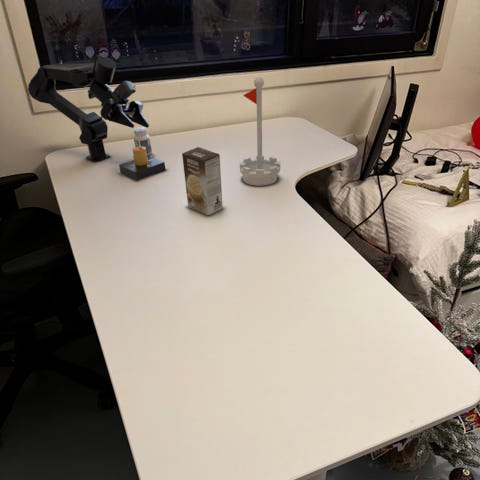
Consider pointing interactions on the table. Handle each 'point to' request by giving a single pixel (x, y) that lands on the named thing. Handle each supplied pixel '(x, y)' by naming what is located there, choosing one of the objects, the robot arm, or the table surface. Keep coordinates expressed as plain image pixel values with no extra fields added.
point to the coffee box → (203, 180)
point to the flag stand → (259, 148)
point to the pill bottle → (142, 139)
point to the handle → (140, 155)
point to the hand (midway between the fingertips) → (141, 126)
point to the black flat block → (142, 168)
